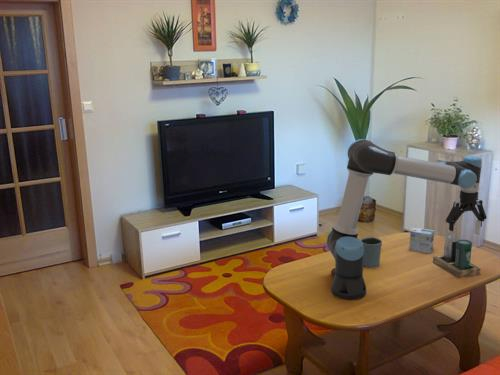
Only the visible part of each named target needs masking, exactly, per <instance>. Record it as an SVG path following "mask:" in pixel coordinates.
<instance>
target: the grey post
mask: <svg viewBox="0 0 500 375" xmlns="http://www.w3.org/2000/svg"><path fill="white" fill-rule="evenodd" d="M449 234H450V232H449V233H445V235H444V248H443V255H444V258H443V260H444V261H446V262H448V263H451V262H455V259H456V247H457V241H458V240H460V239H459V238H460V236H459V234H456V233H455V238H452V237H450V236H449Z"/></svg>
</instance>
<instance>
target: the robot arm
mask: <svg viewBox="0 0 500 375" xmlns="http://www.w3.org/2000/svg"><path fill="white" fill-rule="evenodd" d="M347 158H348V161H347V165H346V169H347V171H348V175H347V176H348V177H347V180H346V185H345V189H344V193H343V197H342V201H341V205H340V208H339V213H338V218H337V222H336V223H334V224H333V225H332V228H331V231H329V233H328V235H327V237H326V246H327V248H328V250H329V252H330V253H331V254H332V256H333V258H334V260H335V265H334V266H335V267H334V268H335V277H334V276H333V280H332V283H331V285H330V293H331V294H332V295H333V296H334V297H335V298H338V299H341V300H348V301H351V300H352V301H354V300H360V299H362V298H364V297H365V296H367V295H366V294H367V286H366V283H365V279H364V274H363V272H364V266H363V254H364V247H363V243H362V242H361V239H359V238H358V235H359V230H358V229H357V227H358V226H357V225H358V220H359V216H360V213H361V210H362V205H363V201H364V197H365V194H366V193H365V192H366V190H367V186H368V185H367V184H368V181H369V177H371V176H373V175H374V174H381V175H387V176H392V175H393V174H395V175H400V176H406V177H411V178H418V179H421V180H426V181H427V180H428V181H433V182H439V183H445V184H449V185H454V186H459V187H460V190H459V202H457V201H454V202H453V204H452V208H451V210H450V211H449V213H448V215H447V217H446V219H445V223H448V231H449V233H450V234H449V236H450V237H452V238H455V234H456V231H457V230H456V229H457V224H456V222H457V221H458V220H459V218H461V216H462V215H463V214H465V213H467V212H472V213H473V215H474V216H475V217H476V219H475V221H474V229H473V230H474V231H473V233H474V234H475V235H478V236H480V234H481V228H482V225H483V222H484V221H485V220H486V219H487V215H486V212H485V208H484V206H483V200H482V199H479V198H478V197H479V190H480V181H481V180H480V179H481V174H482V173H481V172H482V168H483V167H482V166H483V165H482V163H483V162H482V161H483V160H482V158H481V157H479V156H477V155H466V156H464V157H463V159H462V161H460V160H459V161H458V160H457V161H445V160H444V161H438V162H434V161H428V160H423V159H417V158H413V157H407V156H402V155H398V154H397V153H396V152H394V151H392V150H391V151H390V150H386V149H385V148H382V147H380V146H379V145H376V144H374V142H372V141H371V140H368V139H365V138H361V139H360V138H359V139H357V140H355V141H353V142H352V143H351V144H350V145H349V146H348V149H347Z"/></svg>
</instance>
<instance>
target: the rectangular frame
mask: <svg viewBox="0 0 500 375" xmlns="http://www.w3.org/2000/svg"><path fill="white" fill-rule="evenodd" d="M443 258H444V254H443V255H442V254H441V255H436V256H433V257H432V263H433V264H435V265H436V266H438V267H440V268H442V269H443V270H444V271H446V272H448V273H450V274H451V275H452V276H455V277H456V278H457V279H463V278H468V277H475V276H479V275H481V270H482V268H480V267H479V266H477V265H475V264H473V263H471V262H470V269H466V270H460V269H458V268H456V267H455V262H451V263H448V262H446V261H444V260H443Z"/></svg>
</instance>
